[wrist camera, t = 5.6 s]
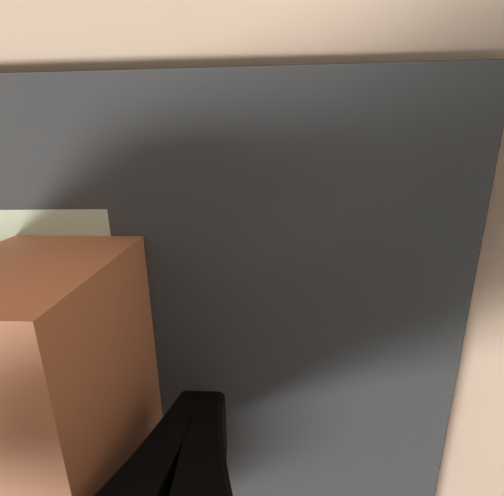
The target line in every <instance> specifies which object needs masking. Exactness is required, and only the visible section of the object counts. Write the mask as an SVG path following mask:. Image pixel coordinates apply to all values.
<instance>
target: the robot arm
mask: <svg viewBox="0 0 504 496" xmlns="http://www.w3.org/2000/svg"><path fill="white" fill-rule="evenodd" d="M226 457H227V430H226V407H225V395H224V394H223V393H222V392H217V391H183V392H182V393H181V394H180V395H179V396H178V398H177V399H176V400H175V402H174V403H173V404H172V406H171V407H170V408H169V410H168V411H167V412H166V414H165V415H164V416H163V418H162V419H161V420H160V421H159V423H158V424H157V425H156V426H155V428H154V429H153V430H152V431H151V433H150V434H149V435H148V436H147V437H146V439H145V440H144V441H143V442H142V443H141V445H140V446H139V447H138V448H137V449H136V451H135V452H134V453H133V454H132V455H131V456H130V458H129V459H128V460H127V461H126V462H125V463H124V464H123V465H122V466H121V467H120V469H119V470H118V471H117V472H116V473H115V474H114V475H113V476H112V477H111V478H110V479H109V481H108V482H107V483H106V484H105V485H104V486H103V487H102V488H101V489H100V490H99V491H98V492H97V493H96V494H95V495H94V496H233V493H232V488H231V484H230V479H229V473H228V468H227V462H226Z"/></svg>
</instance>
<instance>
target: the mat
mask: <svg viewBox="0 0 504 496" xmlns="http://www.w3.org/2000/svg"><path fill="white" fill-rule="evenodd" d="M503 126H504V59H491V60H455V61H419V62H382V63H346V64H310V65H274V66H238V67H201V68H165V69H129V70H93V71H57V72H20V73H0V241H3V240H5V239H8V238H10V237H13V236H15V235H17V236H143V239H144V248H145V258H146V267H147V276H148V285H149V295H150V304H151V313H152V322H153V331H154V341H155V350H156V359H157V368H158V378H159V387H160V396H161V405H162V415H163V416H164V415H165V414H166V412H167V411H168V410H169V408H170V407H171V406H172V404H173V403H174V402H175V400H176V399H177V398H178V396H179V395H180V394H181V393H182V392H183V391H217V392H222V393H223V394H224V395H225V407H226V430H227V457H226V462H227V468H228V473H229V479H230V484H231V488H232V493H233V496H434V493H435V488H436V483H437V477H438V472H439V467H440V461H441V456H442V451H443V446H444V440H445V435H446V430H447V424H448V419H449V414H450V408H451V403H452V398H453V392H454V387H455V382H456V376H457V371H458V366H459V360H460V355H461V350H462V344H463V339H464V334H465V328H466V323H467V318H468V312H469V307H470V302H471V296H472V291H473V286H474V280H475V275H476V270H477V264H478V259H479V254H480V248H481V243H482V238H483V232H484V227H485V222H486V216H487V211H488V206H489V200H490V195H491V190H492V184H493V179H494V174H495V168H496V163H497V158H498V152H499V147H500V142H501V136H502V131H503Z"/></svg>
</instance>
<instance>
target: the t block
mask: <svg viewBox="0 0 504 496" xmlns="http://www.w3.org/2000/svg"><path fill="white" fill-rule="evenodd" d="M162 418H163V415H162V405H161V396H160V387H159V378H158V368H157V359H156V350H155V341H154V331H153V322H152V313H151V304H150V295H149V285H148V276H147V267H146V258H145V248H144V239H143V236H17V235H15V236H13V237H10V238H8V239H5V240H3V241H0V496H94V495H95V494H96V493H97V492H98V491H99V490H100V489H101V488H102V487H103V486H104V485H105V484H106V483H107V482H108V481H109V479H110V478H111V477H112V476H113V475H114V474H115V473H116V472H117V471H118V470H119V469H120V467H121V466H122V465H123V464H124V463H125V462H126V461H127V460H128V459H129V458H130V456H131V455H132V454H133V453H134V452H135V451H136V449H137V448H138V447H139V446H140V445H141V443H142V442H143V441H144V440H145V439H146V437H147V436H148V435H149V434H150V433H151V431H152V430H153V429H154V428H155V426H156V425H157V424H158V423H159V421H160V420H161V419H162Z"/></svg>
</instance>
